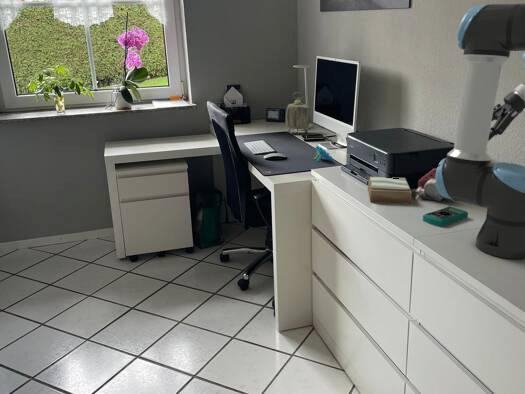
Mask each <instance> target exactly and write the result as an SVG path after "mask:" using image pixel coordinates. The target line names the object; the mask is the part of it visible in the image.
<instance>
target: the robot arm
mask: <svg viewBox="0 0 525 394" xmlns="http://www.w3.org/2000/svg"><path fill="white" fill-rule="evenodd" d="M456 35H457V37H456V38H457V45H458V48H459V49H460V50H462V51H463V54H462V55H463V56H462V57H463V58H464V59H465V60H466V62H467V65H466V66H467V67H466V72H465V77H464V79H465V80H464V84H463V85H464V86H463V91H462V97H461V103H460V109H459V115H458V120H457V128H456V134H455V141H454V145H453V149H451V150H450V151H449V152H447V154H446V157H445V158H443V159H441V160H440V162H439V163H438V166H437V168H436V169H437V170H436V176H435V182H436V187H437V190H438V192H439V194H440V195H441V196H442V197H444V198H445V199H449V200H451V201H453V202H458V203H465V204H467V205H472V206H476V207H481V208H485V209H486V217H485V220H484V222H483V224H482V225H481V227H480V229H479V231H478V232H477V235H476V237H475V246H476V247H477V249H479V250H480V251H481V252H484V253H485V254H488V255H491V256H494V257H498V258H503V259H509V260H525V165H521V164H517V163H513V162H510V163H508V162H505V161H503V162H496V163H494V165H493V166H491V161H492V160H491V157H490V156H489V155H488V154H487V147H488V144H489V142H490V140H492V139H494V137H495V136H498V135H499V136H501V135H503V133H504V132H505V131H506V129H508V127H509V126H510V125H511V124H512V122H513V121H514V119H516V118H517V117H518V116H519V115H520V114H521V113H523V112H524V111H523V109H524V108H525V85H523V84H521V83H519V84H520V85H519V84H518V85H517V86H516V87H515V88H513V89H512V90H513V91H511V92H509V93H508V94H506V96H505V97H504V98H503V102H504V104H502V105H501V103H497V104H496V105H495V103H496V99H497V93H498V87H499V82H500V81H499V80H500V77H501V69H502V66H503V64H505V62H507V61H508V60H509V59H510V55H511V52H513V51H514V52H523V53H522V61H523V65H524V67H525V3H506V4H505V3H498V4H497V3H494V4H492V3H491V4H487V3H486V4H483V5H476V6H473V7H471V8H470V9H468V11H467V12H466V13H465V14H464V15H463V16H462V18H461V21H460V23H459V26H458V30H457V34H456ZM494 121H495V123H494V125H493V126H492V122H494ZM491 126H492V127H491ZM444 198H443V199H444Z"/></svg>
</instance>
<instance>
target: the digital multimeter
mask: <svg viewBox="0 0 525 394" xmlns="http://www.w3.org/2000/svg"><path fill="white" fill-rule="evenodd" d="M468 216H469V212H468V211H467V210H464V209H462V208H458V207H456V206H447V207H443V208H440V209H437V210H435V211H431V212H427V213H425V214H423V215H422V221H423V222H425V223H427V224H430V225H432V226H436V227H445V226H447V225H451V224H453V223H456V222H459V221H462V220H465V219H468Z"/></svg>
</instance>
